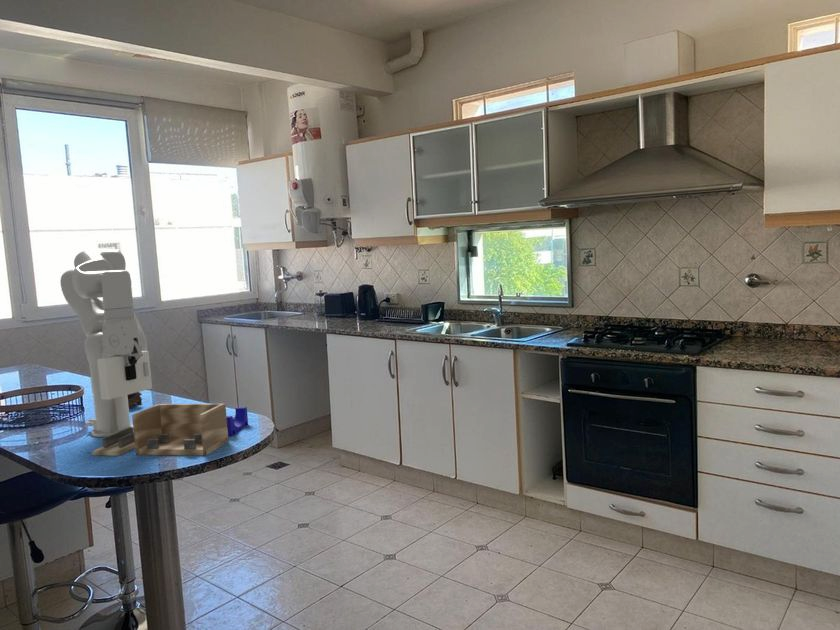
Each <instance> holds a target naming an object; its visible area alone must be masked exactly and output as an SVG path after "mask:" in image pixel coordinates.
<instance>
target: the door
mask: <svg viewBox="0 0 840 630" xmlns="http://www.w3.org/2000/svg"><path fill="white" fill-rule="evenodd" d="M142 353H143V356H142V357H140V358H139V359H138V361H137V364H136V365H135V367H136V377H137V378H136V379H133V380H129V381H127V380H126V375H125V366H126V362H125V356H112V357H107V358H101V359H97V363H98V373H99V383H100V392H101V399H113V398H117V397H121V396H125V395H129V394H132V393H136V392H140V393H141V392H145V391H147V390H151V389H153V380H152V373H151V372H152V371H151V360H150V351H149V350H147V351H142ZM129 358H131V356H130V357H129Z"/></svg>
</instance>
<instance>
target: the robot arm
mask: <svg viewBox="0 0 840 630" xmlns="http://www.w3.org/2000/svg"><path fill="white" fill-rule="evenodd" d="M73 265H74V268H73V269H70V270H66V271H64V272H63V274H62V275H61V276H60V289H61V292H62V295H63V297H64V299H65V301H66V302H67V304H68V306H70V308H71V309H72V310H73V311H74V312H75V313H76V315H77V318H78V320H79V324H80V326H81V328H82V331H83V333H84V335H85V336H86V338H85V340H84V343H83V345H84V351H85V355H86V359H87V362H88V366H89V372H90V380H91V386H92V397H93V406H94V415H95V418H89V419H88V420H87V422H86V427H93V429H92V430H91V431H90V432H91V433H90V434H91V436H92V437H95V438H106V437H108V436H111V435H113V434H115V433H118V432H120V431H122V430H124V429H127V428H129V427H133V422H131V417H130V408H129V407H130V406H128V396H127V395H125V396H121V397H117V398H113V399H101V392H100V383H99V373H98V363H97V359H101V358H107V357H112V356H125V362H126V366H125V375H126V380H127V381H129V380H133V379H136V378H137V377H136V367H135V365H136V364H137V361H138V359H139V358H140V357H142V356H143V353H142V351H148V341H147V337H146V334H145V333H144V330H143V328H142V326H141V323H140V321H139V320H138V317H137V315H136V313H135V307H134V299H133V298H134V297H133V289H132V279H131V274H130V272H129V271H128V270H126V267H127V266H126V265H127V263H126V259H125V255H124V254H123V253H122V252H121V251H120V250H118V249H114V248H113V249H112V248H111V249H110V248H109V249H87V250H83V251H81V252H79V253H77V254H76V256H75V257H74V260H73ZM99 298H102V300H100V299H99ZM130 356H131V358H129V357H130Z"/></svg>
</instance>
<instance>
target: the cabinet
mask: <svg viewBox="0 0 840 630" xmlns="http://www.w3.org/2000/svg"><path fill="white" fill-rule="evenodd" d="M226 416H227V409H226V403H157V404H155V405H153V406H151V407H147V408H146V409H143V410H140V411H139V412H136V413H133V414H132V415H131V419H132V420H131V421H132V423H133V432H134V440H135V448H134V449H135V455H140V456H141V455H147V456H148V455H149V456H150V455H151V456H155V455H156V456H158V455H159V456H160V455H161V456H163V455H166V456H170V455H171V456H176V455H177V456H207V455H210V454H211V453H212V452H214V451H216V450H217V449H219V448H220V447H222V446H224V445H225V444H227V443H228V442H229V437H228V429H227V418H226Z"/></svg>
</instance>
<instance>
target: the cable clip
mask: <svg viewBox="0 0 840 630" xmlns="http://www.w3.org/2000/svg"><path fill="white" fill-rule="evenodd" d="M226 418H227V429H228V436H230V437H233V436H235V435H236V434H237V433H239V432H240V431H241V430H243V429H244V428H245V427H246V426H248V425H249V418H248V407H247V406H238V407H236V408H235V415H234V416H233V415H226Z"/></svg>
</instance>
